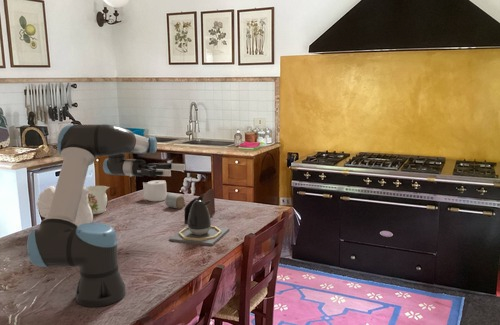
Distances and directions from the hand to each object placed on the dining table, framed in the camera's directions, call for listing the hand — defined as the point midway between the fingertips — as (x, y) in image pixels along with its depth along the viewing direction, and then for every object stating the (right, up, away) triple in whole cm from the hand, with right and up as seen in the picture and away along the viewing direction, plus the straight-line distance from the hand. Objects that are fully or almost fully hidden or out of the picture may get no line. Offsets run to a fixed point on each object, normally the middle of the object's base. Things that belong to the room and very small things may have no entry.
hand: (177, 170), depth 198 cm
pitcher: (-50, -23, +39) cm, 67 cm away
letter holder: (+7, -25, +28) cm, 38 cm away
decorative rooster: (-53, -28, +11) cm, 61 cm away
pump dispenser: (+9, -28, +2) cm, 30 cm away
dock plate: (+10, -29, +2) cm, 31 cm away
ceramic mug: (-8, -21, +48) cm, 53 cm away
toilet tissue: (-23, -18, +63) cm, 70 cm away
